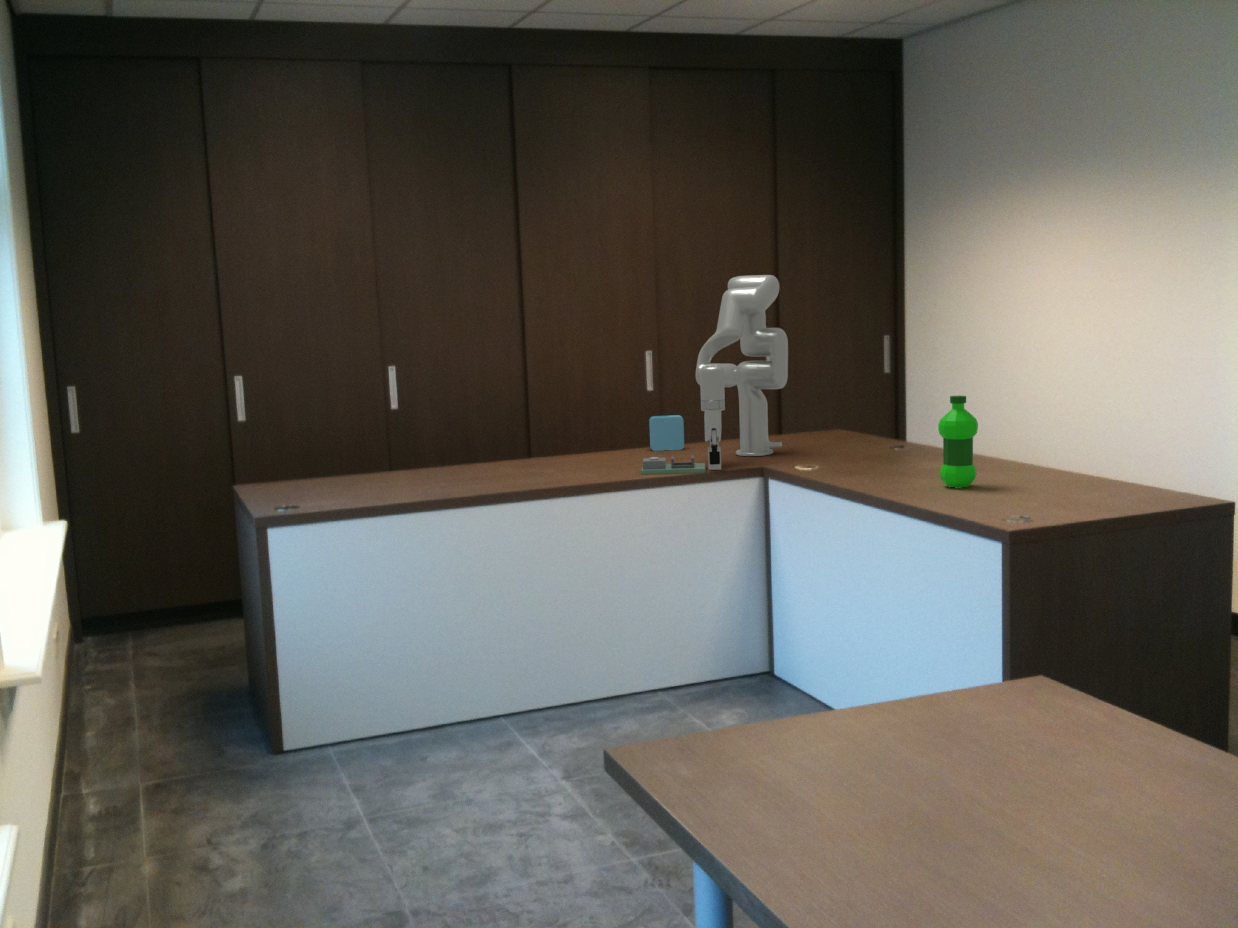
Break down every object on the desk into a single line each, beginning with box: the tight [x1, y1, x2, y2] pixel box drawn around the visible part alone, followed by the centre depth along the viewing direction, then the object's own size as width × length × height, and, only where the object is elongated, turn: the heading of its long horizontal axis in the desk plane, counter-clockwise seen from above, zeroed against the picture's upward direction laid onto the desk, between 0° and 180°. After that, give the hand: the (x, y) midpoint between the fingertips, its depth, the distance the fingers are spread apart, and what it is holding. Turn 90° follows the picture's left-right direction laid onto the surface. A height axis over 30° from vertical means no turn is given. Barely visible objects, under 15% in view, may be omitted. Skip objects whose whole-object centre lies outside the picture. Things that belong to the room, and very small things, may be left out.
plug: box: [707, 445, 722, 471], centre depth 384 cm, size 4×4×7 cm
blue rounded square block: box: [648, 414, 685, 452], centre depth 432 cm, size 12×4×12 cm, turn 90°
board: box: [640, 454, 706, 475], centre depth 384 cm, size 20×12×4 cm, turn 87°
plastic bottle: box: [937, 395, 979, 488], centre depth 333 cm, size 10×10×25 cm
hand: (714, 462), depth 385 cm, fingers closed on plug, 4 cm apart
